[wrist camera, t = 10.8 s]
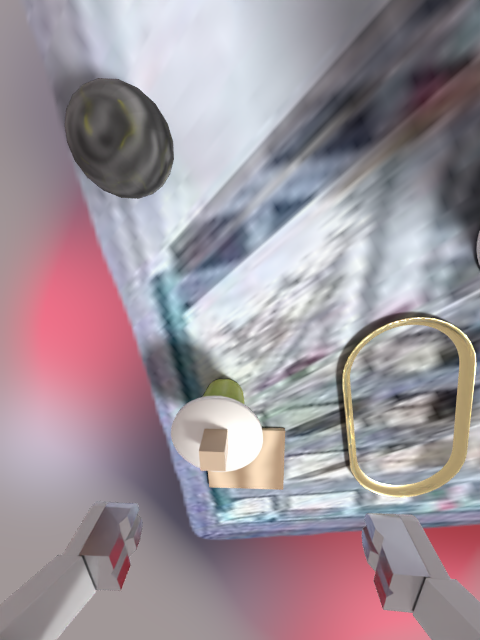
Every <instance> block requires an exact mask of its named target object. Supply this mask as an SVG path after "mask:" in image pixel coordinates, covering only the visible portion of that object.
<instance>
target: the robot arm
mask: <svg viewBox="0 0 480 640" xmlns="http://www.w3.org/2000/svg"><path fill="white" fill-rule="evenodd" d="M477 258H478V262H479V265H480V231H479V235H478V240H477ZM138 511H139V507H138V504H137V503H118V502H100V501H99V502H98V501H97V502H95V503H94V504H93V505H92V506H91V508H90V510H89V511H88V513H87V515H86V516H85V518H84V520H83V521H82V523H81V525H80V526H79V528H78V529H77V531H76V533H75V535H74V536H73V538H72V539H71V541H70V543H69V544H68V546H67V548H66V549H65V551H64V553H63V554H62V555H57V556H56V557H55V558H54V559H53V560H51V561H50V562H49V563H48V564H47V565H46V566H44V567H43V568H42V569H41V570H40V571H39V572H37V573H36V574H35V575H34V576H33V577H32V578H30V579H29V580H28V581H27V582H26V583H25V584H24V585H22V586H21V587H20V588H19V589H18V590H16V591H15V592H14V593H13V594H12V595H11V596H10V597H8V598H7V599H6V600H5V601H4V602H3V603H1V604H0V640H56V639H57V638H58V637H59V636H60V635H61V633H62V632H63V631H64V630H65V629H66V627H67V626H68V625H69V624H70V622H71V621H72V620H73V619H74V617H76V615H77V614H78V613H79V612H80V610H81V609H82V608H83V607H84V606H85V605H86V603H87V602H88V601H89V600H90V599H91V597H92V596H93V595H94V594H95V592H96V590H114V591H120V590H121V589H122V587H123V584H124V581H125V579H126V576H127V574H128V571H129V568H130V566H131V564H130V558H129V557H130V556H131V555H132V554H133V553H134V552H135V551H136V550H137V547H138V544H139V542H140V539H141V534H142V524H143V522H142V519H141V517H140V516H139V515H138ZM364 520H365V523H366V526H365V527H364V528H363V529H362V543H363V548H364V553H365V556H366V559H367V562H368V564H369V565H370V566H371V567H372V568H373V570H374V571H375V576H374V584H375V586H376V590H377V593H378V596H379V598H380V602H381V605H382V608H383V610H391V611H401V612H410V613H413V616H414V617H415V618H416V620H417V621H418V622H419V624H420V625H421V626H422V628H423V629H424V630H425V632H426V633H427V634H428V636H429V637H430V638H431V639H432V640H480V602H479V601H478V600H477V599H476V598H475V597H474V596H473V595H472V594H471V593H469V592H468V591H467V590H466V589H465V588H464V587H463V586H462V585H461V584H460V583H459V582H458V581H457V580H456V579H450V577H449V576H448V574H447V572H446V570H445V568H444V566H443V564H442V563H441V561H440V559H439V557H438V555H437V554H436V552H435V550H434V548H433V546H432V545H431V543H430V541H429V539H428V537H427V536H426V534H425V532H424V530H423V528H422V526H421V525H420V523H419V521H418V519H417V518H416V517H415V516H413V515H400V514H374V513H367V514H366V515H365V519H364Z"/></svg>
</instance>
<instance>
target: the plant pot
mask: <svg viewBox="0 0 480 640" xmlns="http://www.w3.org/2000/svg"><path fill="white" fill-rule="evenodd" d="M205 396H223V397H228V398H231V399H234V400H237V401H239V402H241V403H243V404H244V397H243V391H242V389H241V387H240V386H239V385H238V384H237V383H236V382H234V381H232V380H230V379H218V380H215V381H213V382H212V383H211V384H210V385H209V386H208V388H207V389H206V391H205V393H204V395H203V397H205Z"/></svg>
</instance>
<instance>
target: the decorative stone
mask: <svg viewBox="0 0 480 640" xmlns="http://www.w3.org/2000/svg"><path fill="white" fill-rule="evenodd" d="M65 131H66V137H67V142H68V145H69V148H70V150H71V152H72V155H73V157H74V160H75V161H76V163H77V164H78V165H79V167H80V168H81V169H82V171H83V172H84V174H85V175H86V176H87V177H88V178H89V179H90V180H91V181H92V182H94V183H95V184H96V185H97V186H99V187H100V188H101V189H103V190H104V191H106V192H109V193H111V194H114V195H116V196H119V197H121V198H137V199H139V198H142V197H145V196H148V195H151V194H153V193H154V192H156V191H157V190H158V189H159V188H161V187H162V186H163V185H164V183H165V181H166V180H167V178H168V177H169V175H170V172H171V168H172V164H173V160H174V153H173V140H172V137H171V134H170V130H169V127H168V124H167V122H166V120H165V119H164V117H163V115H162V114H161V112H160V111H159V109H158V107H157V106H156V104H155V103H154V102H153V101H152V100H151V99H149V98H148V97H147V96H146V95H145V94H144V93H143V92H142V91H141V90H140V89H138V88H137V87H135V86H132V85H130V84H128V83H126V82H123V81H121V80H119V79H104V78H98V79H95V80H93V81H90V82H88V83H85V84H83V85H82V86H81V87H80V88H79V89H78V90H77V91H76V92H75V93H74V94H73V95H72V97H71V100H70V102H69V104H68V106H67V109H66V117H65Z"/></svg>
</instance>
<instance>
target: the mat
mask: <svg viewBox="0 0 480 640" xmlns="http://www.w3.org/2000/svg"><path fill="white" fill-rule="evenodd" d="M262 431H263V444H262V448H261V450H260V452H259V454H258V456H257V457H256V458H255V459H254V460H253V461H252V462H251V463H250V464H248V465H246V466H245V467H243V468H240V469H237V470H234V471H228V472H213V471H208V477H209V487H219V488H251V489H283V476H284V447H285V428H262Z"/></svg>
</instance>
